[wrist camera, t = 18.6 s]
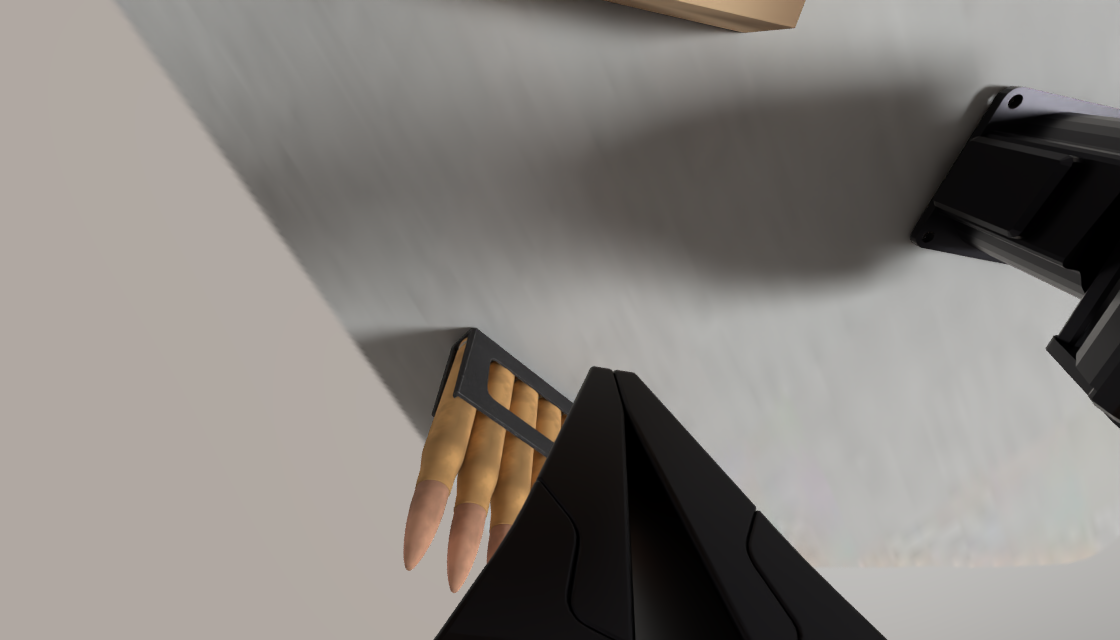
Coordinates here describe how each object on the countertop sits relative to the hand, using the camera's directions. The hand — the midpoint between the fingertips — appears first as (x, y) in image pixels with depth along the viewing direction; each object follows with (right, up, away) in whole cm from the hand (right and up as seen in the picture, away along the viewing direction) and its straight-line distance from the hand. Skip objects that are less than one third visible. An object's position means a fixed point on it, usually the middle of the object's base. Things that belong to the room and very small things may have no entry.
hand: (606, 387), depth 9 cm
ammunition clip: (-2, -3, +17) cm, 18 cm away
